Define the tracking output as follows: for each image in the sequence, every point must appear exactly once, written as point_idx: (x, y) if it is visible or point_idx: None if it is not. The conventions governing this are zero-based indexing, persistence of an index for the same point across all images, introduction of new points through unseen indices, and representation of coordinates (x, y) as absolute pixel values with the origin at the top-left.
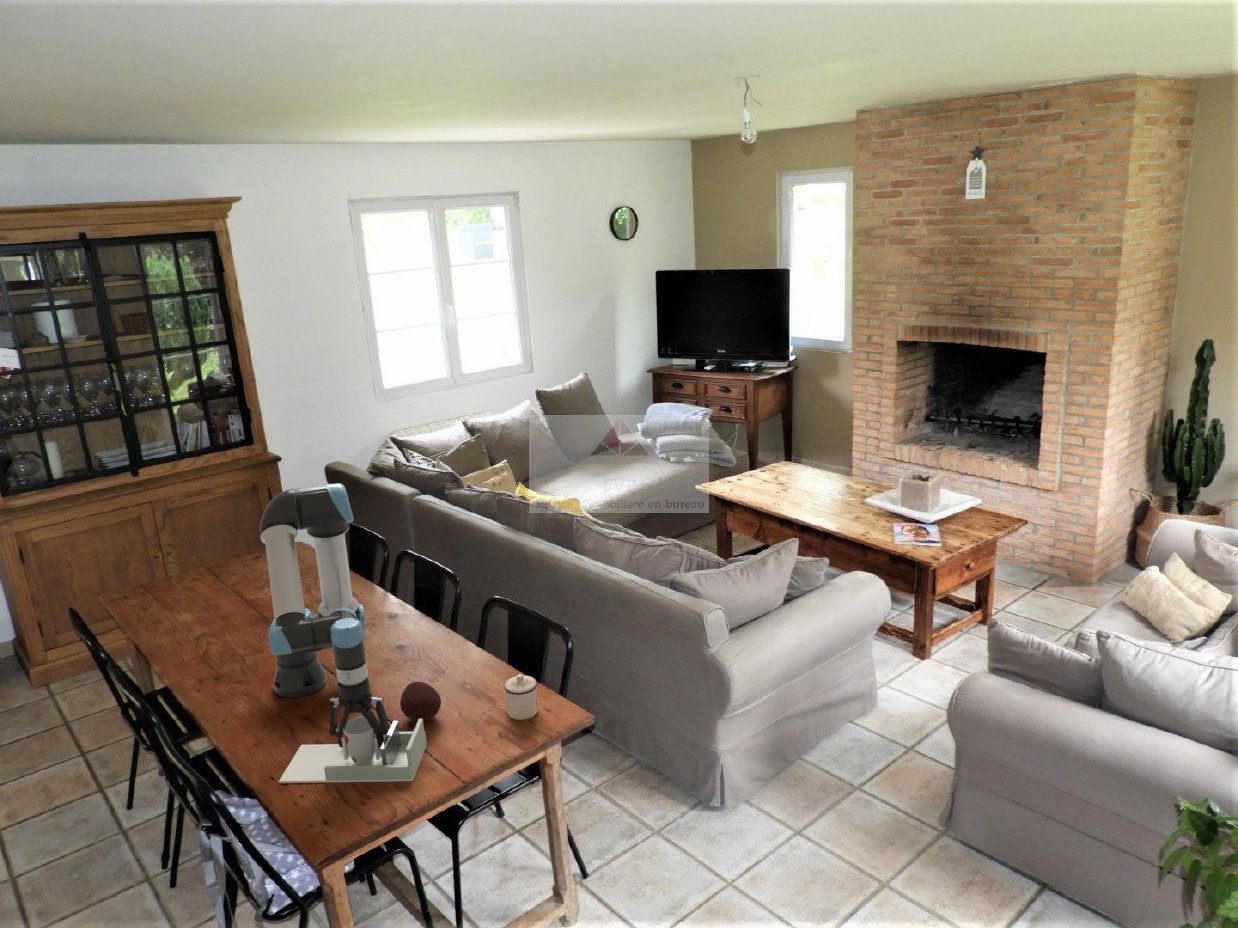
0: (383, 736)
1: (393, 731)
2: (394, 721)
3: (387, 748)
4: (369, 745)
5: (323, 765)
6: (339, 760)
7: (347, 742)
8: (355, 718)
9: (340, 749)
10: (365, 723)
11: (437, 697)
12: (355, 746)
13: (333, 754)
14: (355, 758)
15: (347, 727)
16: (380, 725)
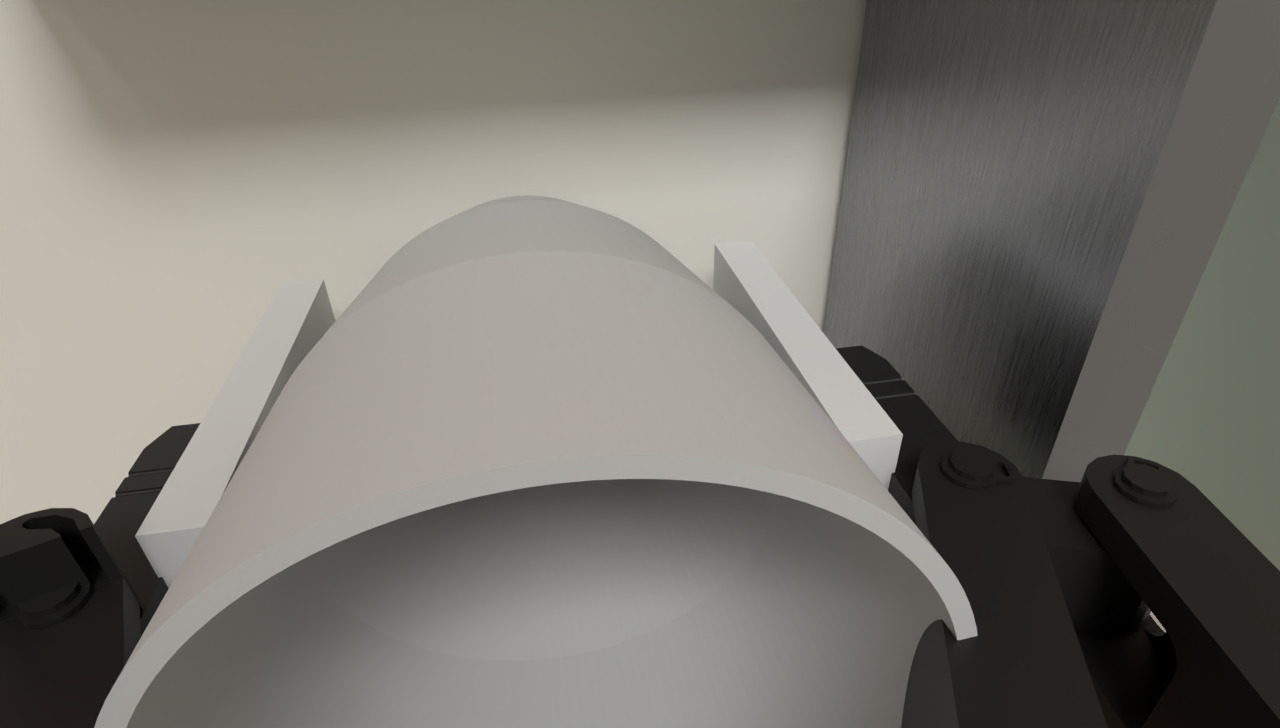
0: (937, 419)
1: (1148, 361)
2: (1244, 4)
3: None
4: (733, 572)
5: (59, 402)
6: (200, 297)
7: (410, 725)
8: (252, 588)
9: (11, 42)
10: (562, 353)
11: None
12: (562, 694)
13: (2, 180)
14: (509, 500)
15: (184, 657)
16: (1047, 575)
